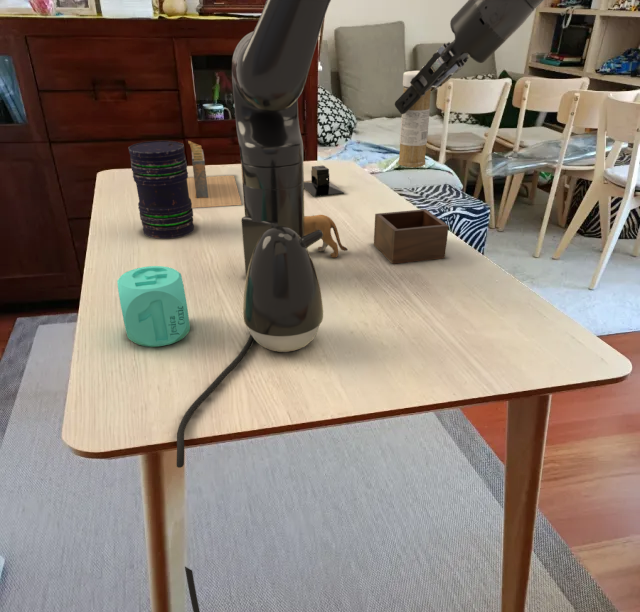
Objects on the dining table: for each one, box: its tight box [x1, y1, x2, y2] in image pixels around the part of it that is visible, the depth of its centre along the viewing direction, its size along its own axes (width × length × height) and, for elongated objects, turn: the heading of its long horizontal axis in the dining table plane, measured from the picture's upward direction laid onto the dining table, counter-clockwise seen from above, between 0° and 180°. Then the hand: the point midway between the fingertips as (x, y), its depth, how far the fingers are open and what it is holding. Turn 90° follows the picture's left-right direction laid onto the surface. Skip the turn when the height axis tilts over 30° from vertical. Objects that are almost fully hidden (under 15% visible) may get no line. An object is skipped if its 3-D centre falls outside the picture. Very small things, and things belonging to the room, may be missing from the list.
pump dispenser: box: [242, 226, 324, 353], centre depth 76 cm, size 10×10×15 cm
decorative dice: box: [116, 265, 191, 348], centre depth 80 cm, size 8×8×8 cm
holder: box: [373, 208, 450, 265], centre depth 106 cm, size 10×10×6 cm
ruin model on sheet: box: [187, 140, 243, 209], centre depth 136 cm, size 25×16×10 cm, turn 11°
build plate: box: [304, 165, 345, 198], centre depth 139 cm, size 12×7×5 cm, turn 20°
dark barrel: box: [128, 140, 195, 240], centre depth 112 cm, size 10×10×15 cm
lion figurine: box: [304, 214, 349, 259], centre depth 104 cm, size 15×5×9 cm, turn 92°
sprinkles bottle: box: [397, 70, 432, 168], centre depth 97 cm, size 5×5×13 cm
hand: (404, 106), depth 96 cm, fingers closed on sprinkles bottle, 4 cm apart
